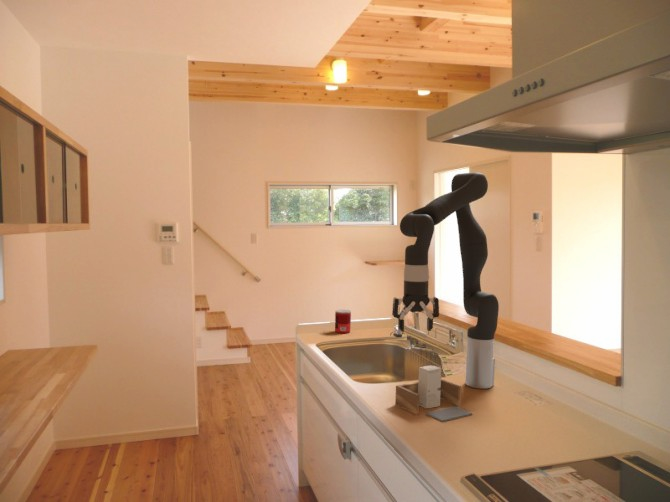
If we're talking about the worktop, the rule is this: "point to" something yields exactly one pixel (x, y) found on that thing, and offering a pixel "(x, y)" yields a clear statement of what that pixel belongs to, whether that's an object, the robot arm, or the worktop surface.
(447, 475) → the worktop surface
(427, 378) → the skincare box
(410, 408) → the brown wooden u-shaped piece
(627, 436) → the worktop surface
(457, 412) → the grey mat
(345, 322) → the canned food
